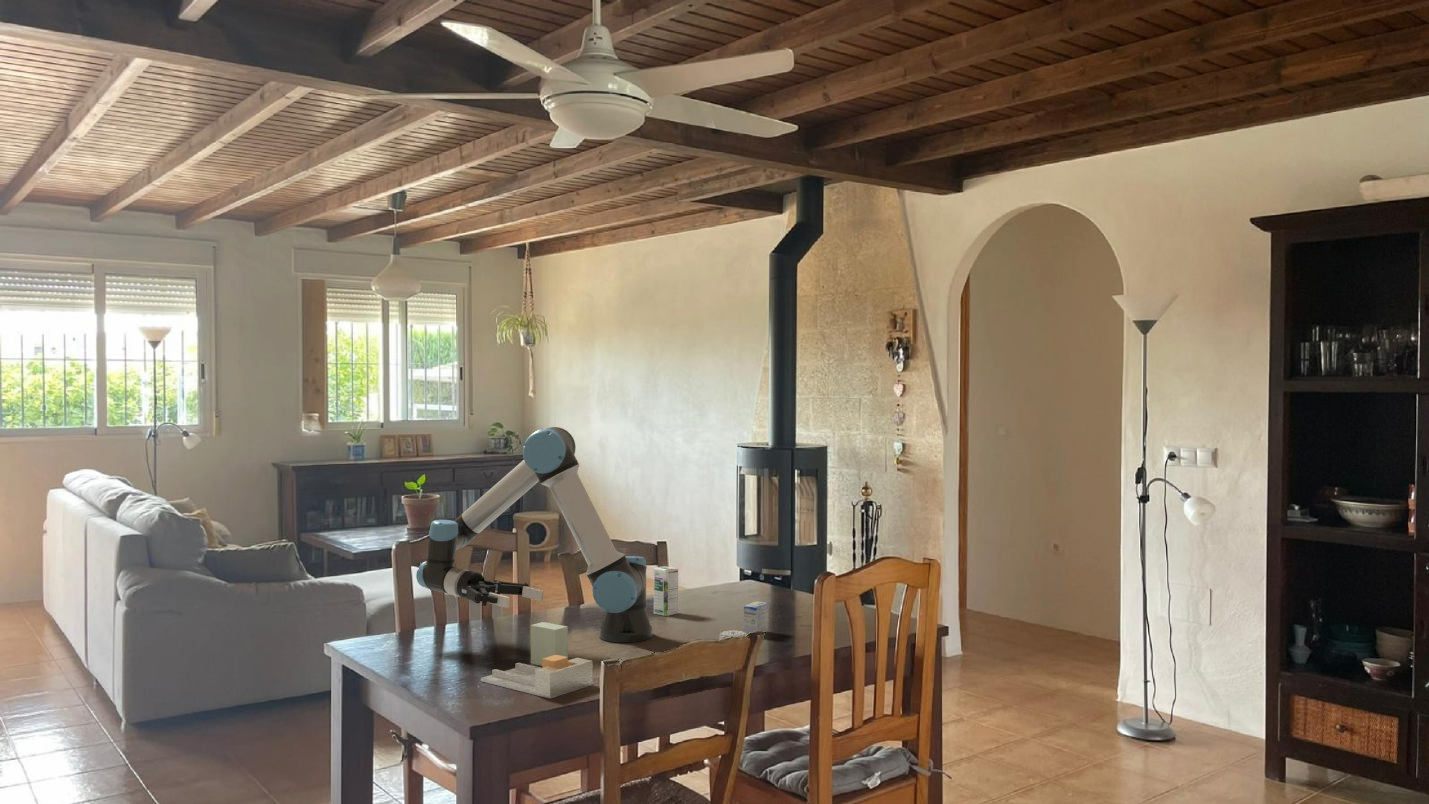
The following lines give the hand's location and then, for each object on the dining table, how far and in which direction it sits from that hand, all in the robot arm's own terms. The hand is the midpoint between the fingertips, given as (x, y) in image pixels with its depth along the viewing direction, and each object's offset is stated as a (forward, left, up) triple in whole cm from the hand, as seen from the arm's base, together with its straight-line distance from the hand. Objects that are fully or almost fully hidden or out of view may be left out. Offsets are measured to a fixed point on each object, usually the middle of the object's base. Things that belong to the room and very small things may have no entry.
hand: (525, 599), depth 277 cm
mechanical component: (-42, +37, -16) cm, 58 cm away
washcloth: (-14, +28, -17) cm, 36 cm away
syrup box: (-64, -6, -16) cm, 67 cm away
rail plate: (+14, +18, -16) cm, 28 cm away
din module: (0, +8, -16) cm, 18 cm away
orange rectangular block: (+14, +25, -15) cm, 32 cm away
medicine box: (-59, +32, -16) cm, 69 cm away
